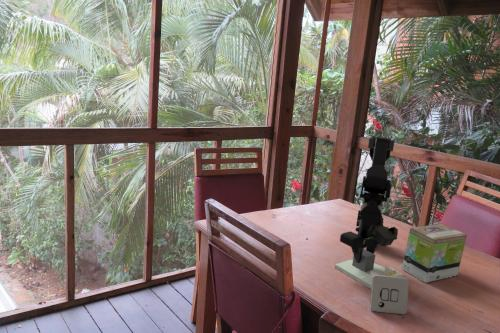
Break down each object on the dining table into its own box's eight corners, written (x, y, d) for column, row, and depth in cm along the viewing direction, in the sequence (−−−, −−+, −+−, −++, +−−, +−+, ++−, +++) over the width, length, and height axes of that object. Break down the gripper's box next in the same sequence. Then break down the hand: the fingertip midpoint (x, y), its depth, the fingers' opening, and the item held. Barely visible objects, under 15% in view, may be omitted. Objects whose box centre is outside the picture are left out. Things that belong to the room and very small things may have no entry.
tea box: (426, 284, 122) (435, 239, 118) (400, 269, 130) (408, 226, 127) (458, 276, 129) (468, 233, 125) (432, 262, 137) (440, 222, 134)
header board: (334, 267, 128) (336, 254, 127) (361, 259, 135) (363, 247, 134) (378, 293, 114) (380, 279, 113) (405, 283, 122) (408, 269, 120)
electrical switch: (370, 311, 105) (374, 277, 104) (365, 302, 110) (370, 270, 109) (406, 315, 104) (411, 282, 103) (400, 306, 109) (405, 274, 108)
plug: (360, 262, 130) (362, 248, 129) (373, 269, 126) (375, 254, 125) (352, 265, 127) (354, 250, 126) (364, 272, 124) (367, 257, 122)
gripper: (372, 228, 111) (364, 279, 114) (412, 218, 122) (403, 266, 125) (342, 214, 120) (335, 262, 123) (381, 207, 130) (374, 251, 134)
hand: (363, 261), depth 126 cm, fingers open, 5 cm apart
